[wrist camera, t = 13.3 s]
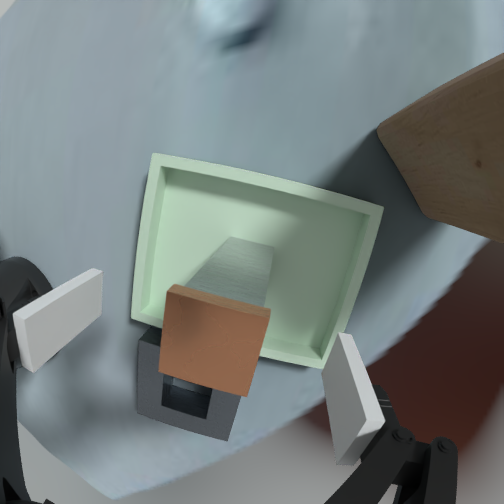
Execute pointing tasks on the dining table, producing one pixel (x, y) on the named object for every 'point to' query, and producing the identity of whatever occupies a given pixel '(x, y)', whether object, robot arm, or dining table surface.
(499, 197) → the wooden block
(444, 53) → the dining table surface
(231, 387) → the pin
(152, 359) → the block
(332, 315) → the tray
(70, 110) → the dining table surface
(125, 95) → the dining table surface
